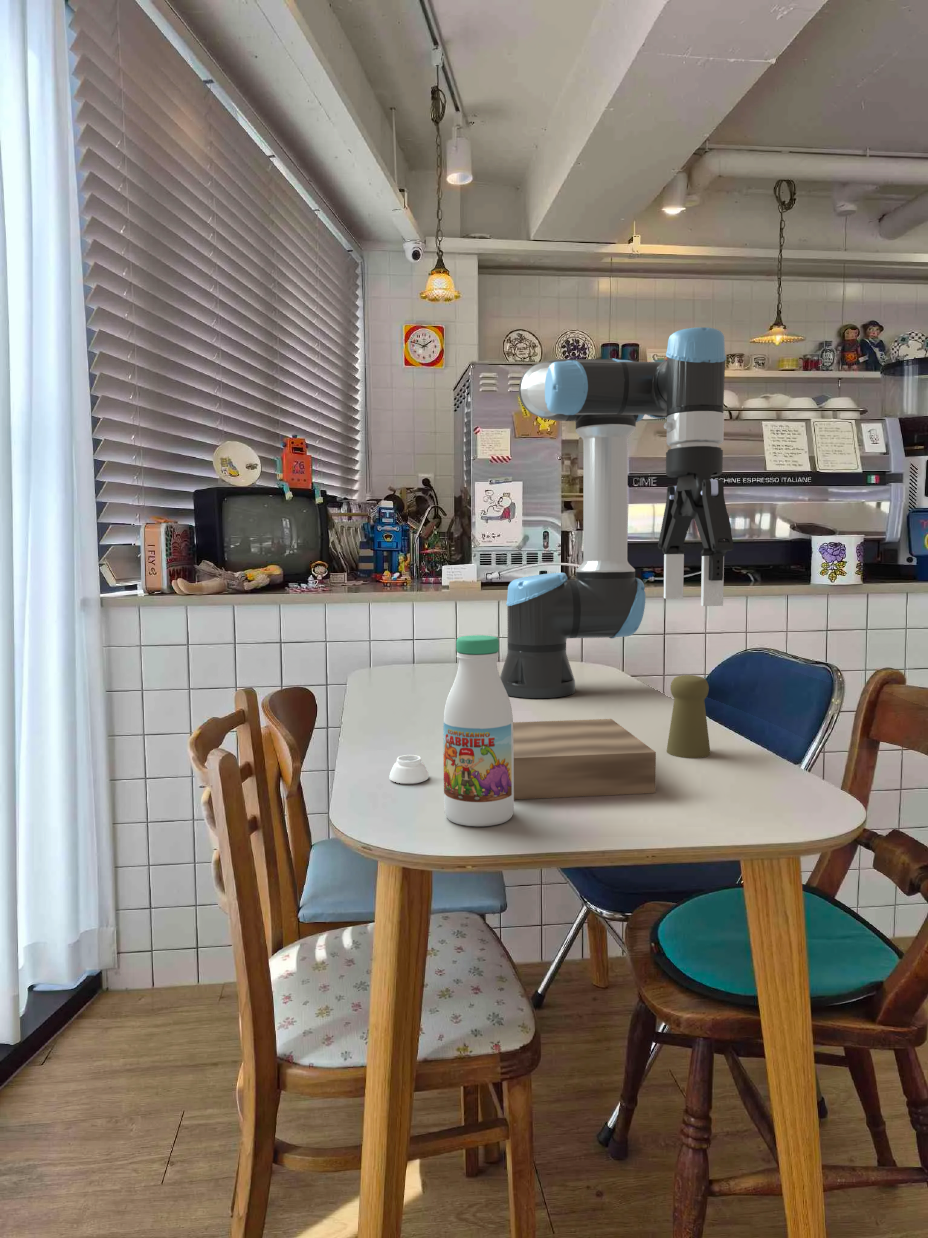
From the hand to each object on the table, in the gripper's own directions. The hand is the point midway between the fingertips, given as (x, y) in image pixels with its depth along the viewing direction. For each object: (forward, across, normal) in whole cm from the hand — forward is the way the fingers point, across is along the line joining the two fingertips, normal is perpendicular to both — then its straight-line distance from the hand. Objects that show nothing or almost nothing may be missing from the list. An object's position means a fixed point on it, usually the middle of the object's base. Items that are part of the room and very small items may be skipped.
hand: (691, 602), depth 113 cm
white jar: (+22, +7, -40) cm, 46 cm away
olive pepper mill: (+22, 0, 0) cm, 22 cm away
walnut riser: (+21, +8, -20) cm, 30 cm away
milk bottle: (+22, +22, -33) cm, 45 cm away
